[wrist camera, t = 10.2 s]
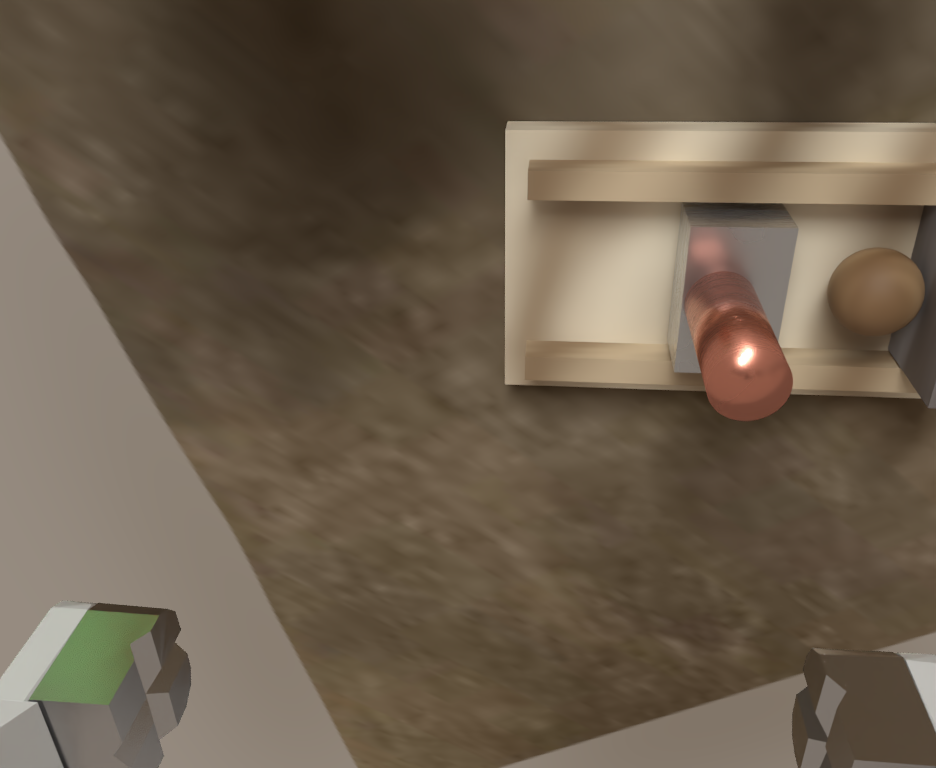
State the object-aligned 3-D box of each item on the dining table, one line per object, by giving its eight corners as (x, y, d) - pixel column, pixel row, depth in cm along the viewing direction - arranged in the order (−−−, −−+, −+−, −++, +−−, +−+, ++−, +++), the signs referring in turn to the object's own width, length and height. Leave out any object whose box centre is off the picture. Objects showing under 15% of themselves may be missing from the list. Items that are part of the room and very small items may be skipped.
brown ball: (916, 234, 35) (949, 268, 32) (896, 314, 37) (926, 353, 34) (826, 233, 36) (850, 267, 33) (810, 311, 38) (832, 350, 35)
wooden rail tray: (1007, 123, 34) (1092, 170, 29) (932, 382, 40) (990, 463, 35) (507, 121, 36) (496, 165, 31) (506, 368, 42) (497, 443, 37)
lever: (781, 202, 35) (845, 300, 27) (758, 342, 38) (809, 467, 30) (682, 201, 35) (715, 297, 27) (667, 339, 39) (692, 462, 30)
